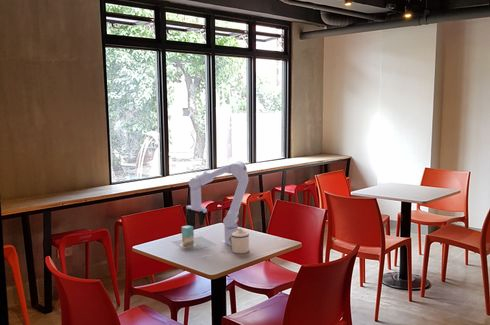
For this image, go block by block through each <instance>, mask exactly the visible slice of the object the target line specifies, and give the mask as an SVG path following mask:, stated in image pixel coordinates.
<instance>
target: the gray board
mask: <svg viewBox="0 0 490 325" xmlns="http://www.w3.org/2000/svg"><path fill="white" fill-rule="evenodd" d="M193 239H194V245H193V246H188V247H185V246H184V245H182V239H178V240H174V241H171V243H172V244H174V245H176V246H177V247H179V248H181V249H182V250H184V251H186V252H189V251H196V250H199V249H204V248H209V247H214V246H215V247H216V246H218V244H216V243H215V242H213V241H211V240H209V239H207V238H205V237H204V236H196V237H193Z"/></svg>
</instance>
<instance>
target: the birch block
mask: <svg viewBox="0 0 490 325" xmlns="http://www.w3.org/2000/svg"><path fill="white" fill-rule="evenodd" d="M181 237H182V238H181V240H182V245H184V246H185V247H188V246H193V245H194V239H193V238H194V236H191V237H187V238H186V237H183V236H182V235H181Z"/></svg>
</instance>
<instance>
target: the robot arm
mask: <svg viewBox="0 0 490 325" xmlns="http://www.w3.org/2000/svg"><path fill="white" fill-rule="evenodd" d="M223 174H229V175H230V174H232V176H233V177H234V178H236V180H237V181H238V182H237V186H236V189H235V192H234V195H233V198H232V201H231V203H230V206H229V207H230V208H229V210H228V212H226V216H225V217H223V220H222V223H223V226H224V228H223V229H224V240H221V242H222V243H225V244H226V245H228V246H232V245H231V244H230V242H229V236H231V234H232V233H233V232H236V231H237V230H238V229H239V225H238V221H239V213H240V211H239V210H240V208H241V205H242V202H243V199H244V195H245V193H246V189H247V187H248V183H249V180H250V178H249V175H248V169H247V166H246V165H245V163H244V162H243V161H237V162H236V161H235V162H233V163H229V164H226V165H223V166H222V167H220V168H217V169H216V170H214V171H212V172H211V171H203V173H200V175H199V174H197V175H196V176H195V177H191V179H189V181H188V186H189V188H190V205H186V206H185V207H186V210H185V212H186V214H187V215H188V219H189V221H190V224H193V223H195V218H196V215H195V214H196V213H197V216H198V223H199V226H203V225H204V224H205V220H206V217H207V215H208V212H207V211H208V210H207V208H205V207H204V206H203V205H202V186H205V185H206V184H209V183H211V182H213V181H214V178H217V177H218V176H222V175H223ZM231 241H232V237H231Z"/></svg>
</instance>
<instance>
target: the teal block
mask: <svg viewBox="0 0 490 325" xmlns="http://www.w3.org/2000/svg"><path fill="white" fill-rule="evenodd" d="M194 232H195V230H194V226H193V225H189V224H188V225H183V226H181V237H182V236H183V237H186V238H187V237H191V236H193V237H194V236H195V233H194Z"/></svg>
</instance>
